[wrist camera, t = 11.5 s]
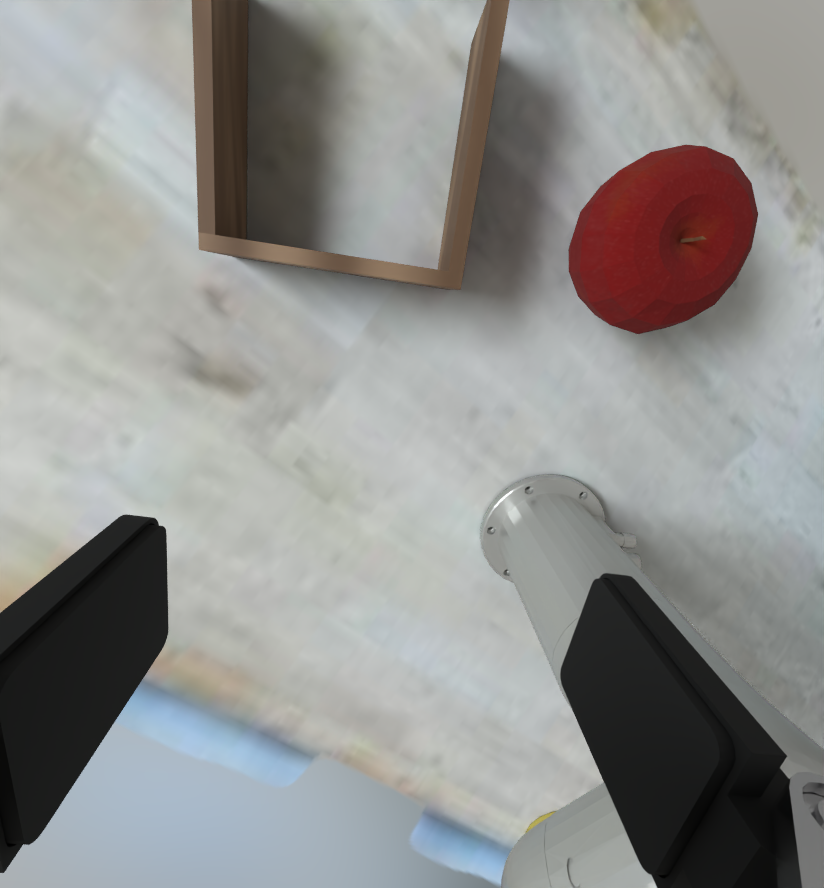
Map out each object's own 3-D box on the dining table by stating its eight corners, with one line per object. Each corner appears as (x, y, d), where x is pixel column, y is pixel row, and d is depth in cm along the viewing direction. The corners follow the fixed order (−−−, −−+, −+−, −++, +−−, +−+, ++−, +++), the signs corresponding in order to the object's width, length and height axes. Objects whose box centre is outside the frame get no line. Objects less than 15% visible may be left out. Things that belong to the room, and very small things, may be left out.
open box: (485, 46, 29) (512, -18, 23) (446, 289, 35) (460, 289, 28) (232, -10, 27) (189, -95, 21) (233, 256, 33) (199, 249, 27)
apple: (600, 348, 37) (691, 373, 26) (513, 267, 34) (573, 257, 23) (697, 240, 35) (842, 218, 24) (611, 143, 32) (731, 67, 21)
